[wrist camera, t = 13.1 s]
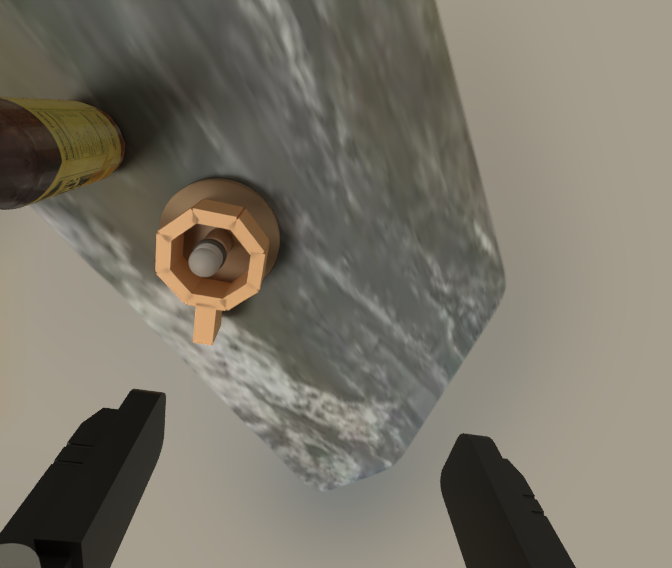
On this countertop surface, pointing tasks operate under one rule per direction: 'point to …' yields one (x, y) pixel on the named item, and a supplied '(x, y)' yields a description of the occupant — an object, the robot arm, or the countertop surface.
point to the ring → (202, 291)
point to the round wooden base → (217, 243)
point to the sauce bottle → (53, 148)
